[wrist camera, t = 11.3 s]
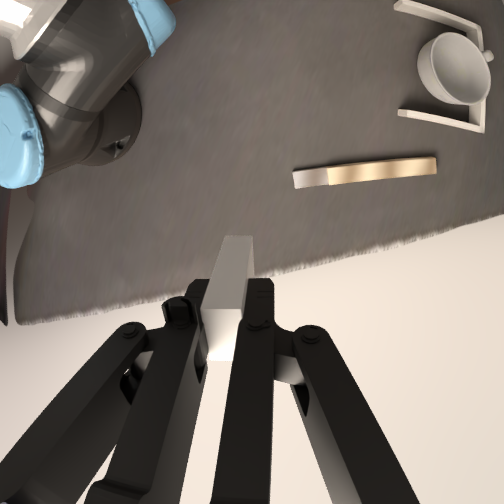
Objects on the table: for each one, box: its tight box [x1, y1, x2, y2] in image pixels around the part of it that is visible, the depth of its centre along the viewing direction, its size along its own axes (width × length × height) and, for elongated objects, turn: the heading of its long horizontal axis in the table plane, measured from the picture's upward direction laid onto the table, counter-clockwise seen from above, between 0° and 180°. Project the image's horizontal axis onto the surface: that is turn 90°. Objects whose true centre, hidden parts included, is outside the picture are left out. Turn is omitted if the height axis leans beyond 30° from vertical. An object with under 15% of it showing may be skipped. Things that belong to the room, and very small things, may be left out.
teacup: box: [417, 32, 494, 105], centre depth 30 cm, size 14×11×8 cm
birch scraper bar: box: [292, 157, 436, 189], centre depth 41 cm, size 23×2×2 cm, turn 101°
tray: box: [394, 0, 486, 134], centre depth 32 cm, size 15×19×4 cm
